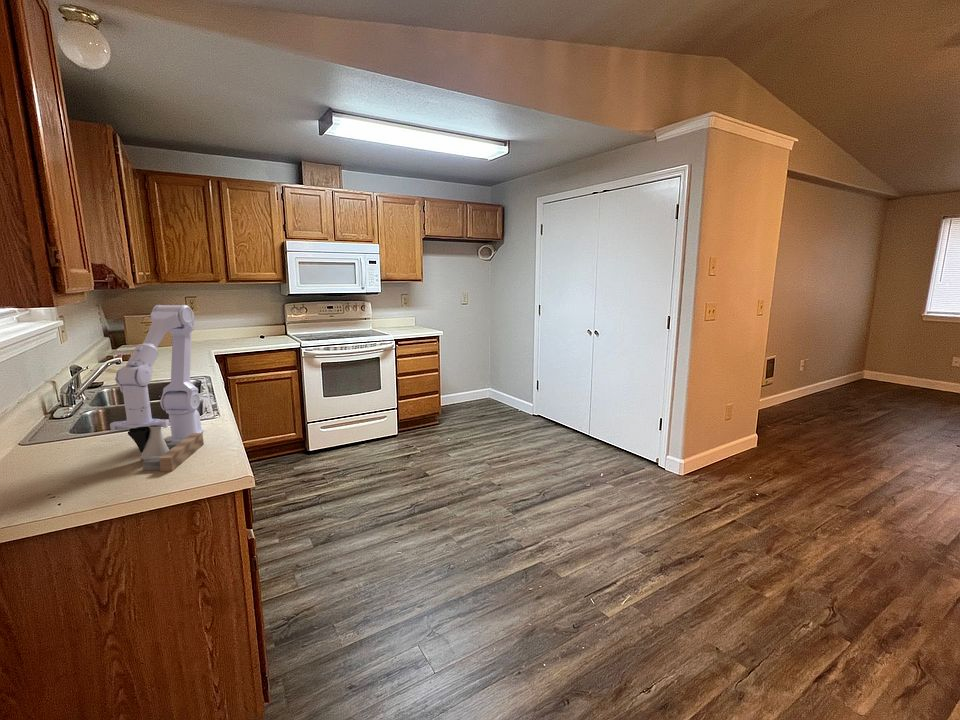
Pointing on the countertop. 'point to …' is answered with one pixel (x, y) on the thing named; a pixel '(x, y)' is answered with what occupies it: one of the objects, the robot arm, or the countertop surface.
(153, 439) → the flask
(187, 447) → the spice rail
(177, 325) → the robot arm
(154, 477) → the countertop surface
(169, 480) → the countertop surface
